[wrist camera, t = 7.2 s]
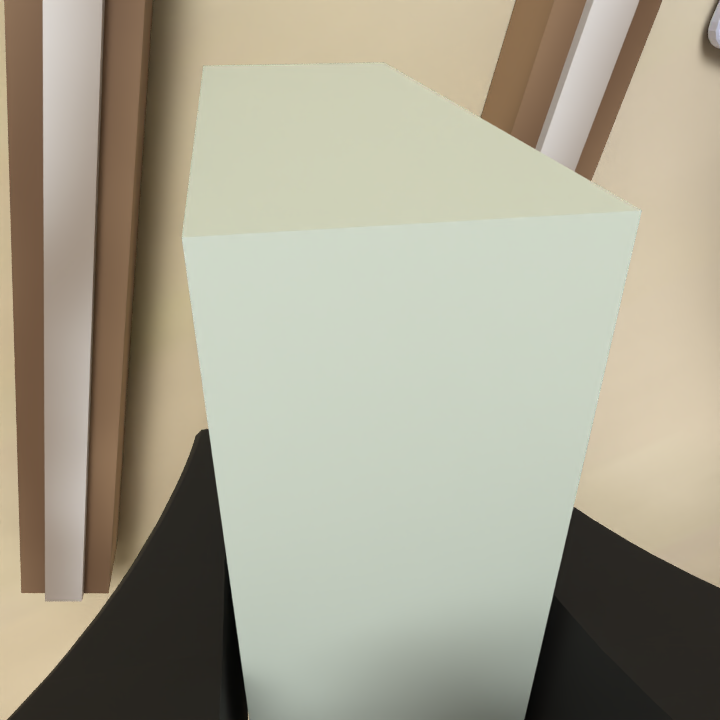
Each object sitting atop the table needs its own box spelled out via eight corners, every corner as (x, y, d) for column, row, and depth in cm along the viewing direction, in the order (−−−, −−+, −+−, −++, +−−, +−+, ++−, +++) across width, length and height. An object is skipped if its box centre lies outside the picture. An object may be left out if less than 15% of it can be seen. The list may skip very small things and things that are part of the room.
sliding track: (641, -79, 15) (705, -86, 13) (413, 551, 24) (430, 601, 22) (27, -284, 12) (-12, -334, 10) (37, 541, 21) (18, 601, 19)
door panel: (384, 61, 11) (641, 209, 4) (373, 559, 17) (473, 939, 11) (203, 65, 11) (180, 237, 4) (258, 576, 17) (286, 984, 10)
